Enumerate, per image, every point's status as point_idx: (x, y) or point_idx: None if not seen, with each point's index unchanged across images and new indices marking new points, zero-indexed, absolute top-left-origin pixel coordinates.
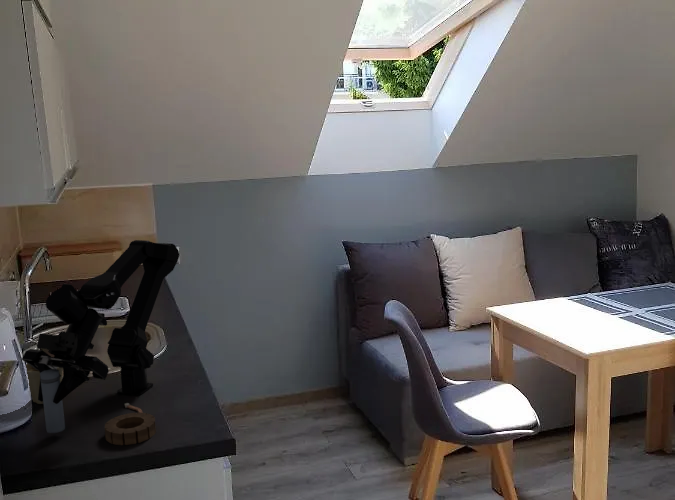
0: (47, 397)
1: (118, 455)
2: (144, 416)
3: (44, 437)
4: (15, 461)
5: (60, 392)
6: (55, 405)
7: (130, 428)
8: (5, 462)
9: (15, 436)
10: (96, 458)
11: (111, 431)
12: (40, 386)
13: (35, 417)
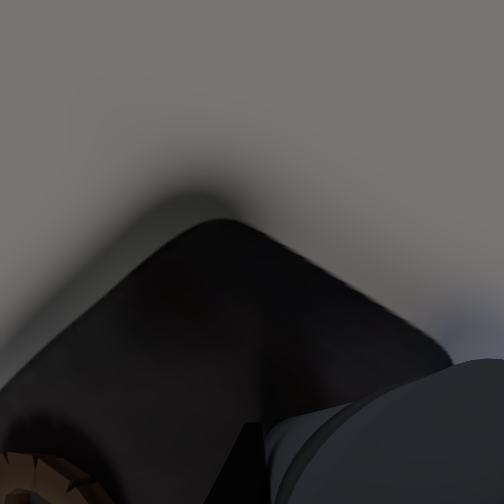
0: (317, 412)
1: (11, 394)
2: None
3: None
4: (266, 262)
5: (218, 483)
6: (271, 446)
7: (8, 489)
8: (288, 247)
9: (429, 368)
10: (47, 365)
11: (39, 464)
12: None
13: None
